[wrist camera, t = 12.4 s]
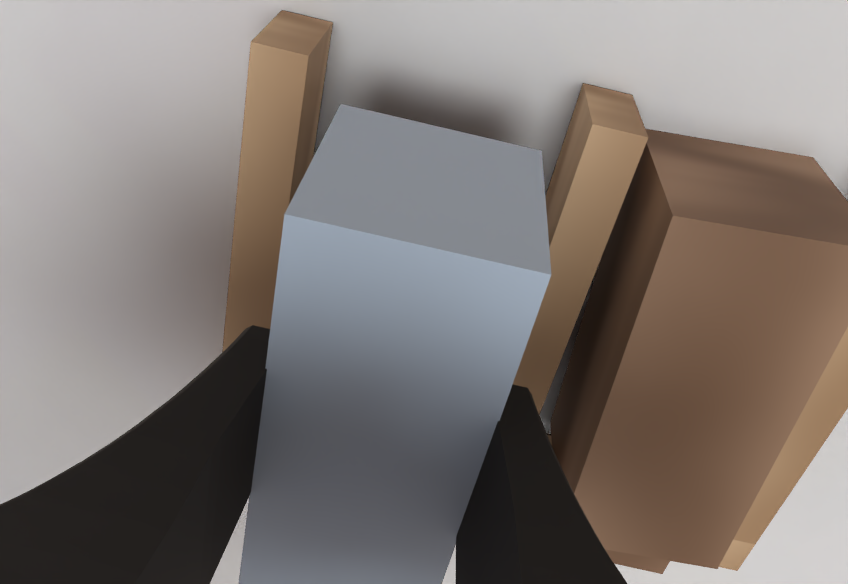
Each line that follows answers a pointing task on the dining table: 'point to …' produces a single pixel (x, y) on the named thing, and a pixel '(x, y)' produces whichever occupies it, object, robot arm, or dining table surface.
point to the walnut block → (700, 343)
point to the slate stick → (391, 348)
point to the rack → (567, 230)
